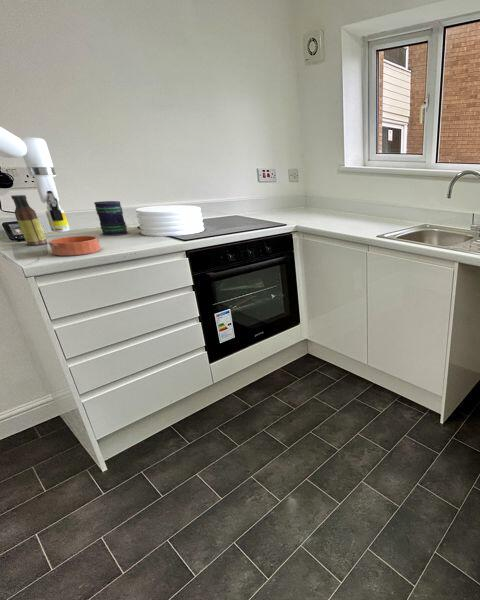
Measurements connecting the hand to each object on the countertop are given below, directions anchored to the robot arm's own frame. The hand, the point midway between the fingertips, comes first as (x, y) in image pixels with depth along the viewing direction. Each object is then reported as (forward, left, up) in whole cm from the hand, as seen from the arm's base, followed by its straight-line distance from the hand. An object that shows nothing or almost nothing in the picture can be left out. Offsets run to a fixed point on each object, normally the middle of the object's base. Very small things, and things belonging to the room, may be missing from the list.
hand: (57, 219), depth 142 cm
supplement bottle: (0, 0, -5) cm, 5 cm away
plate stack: (+43, +10, -11) cm, 46 cm away
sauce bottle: (-8, +10, -11) cm, 17 cm away
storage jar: (+20, +18, -11) cm, 29 cm away
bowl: (+2, -16, -11) cm, 20 cm away
